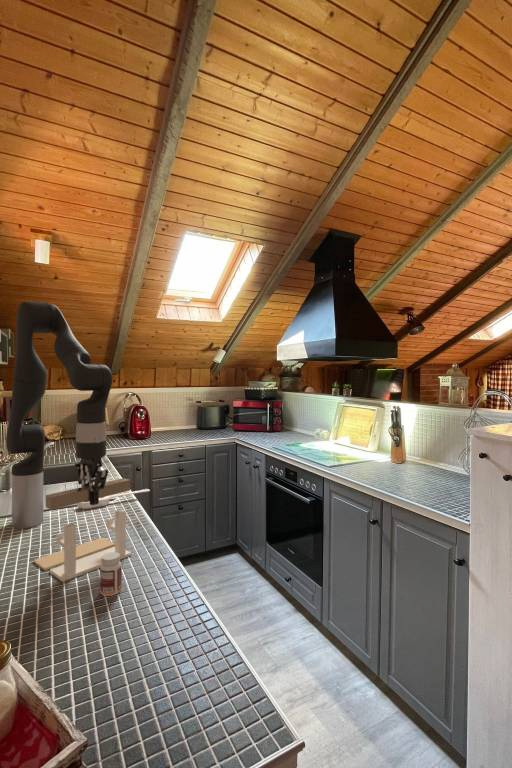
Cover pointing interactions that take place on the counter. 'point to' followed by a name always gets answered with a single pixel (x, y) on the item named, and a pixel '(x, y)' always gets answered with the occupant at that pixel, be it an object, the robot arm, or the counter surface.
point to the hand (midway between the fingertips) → (90, 502)
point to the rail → (85, 494)
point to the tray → (81, 551)
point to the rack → (92, 561)
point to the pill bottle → (110, 574)
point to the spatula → (105, 500)
